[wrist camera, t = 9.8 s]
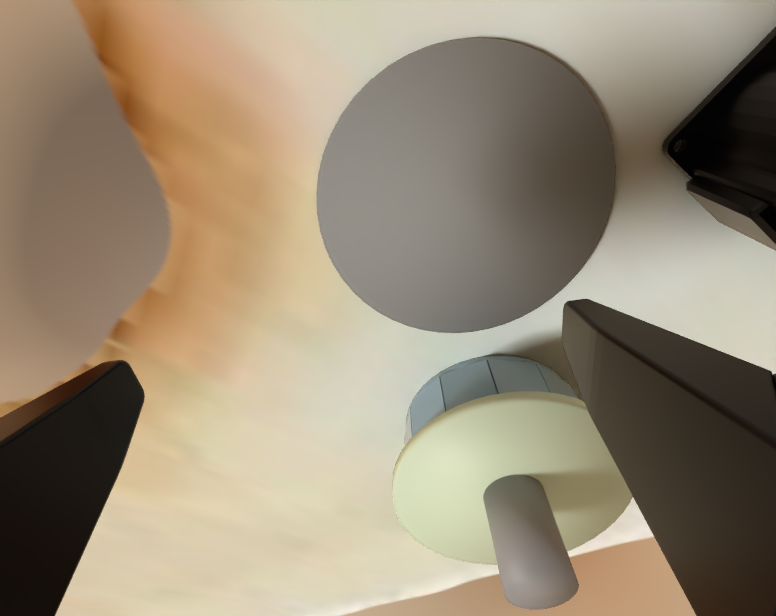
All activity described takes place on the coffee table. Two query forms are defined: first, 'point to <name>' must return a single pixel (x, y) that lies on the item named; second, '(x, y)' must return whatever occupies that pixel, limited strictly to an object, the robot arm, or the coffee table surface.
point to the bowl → (480, 386)
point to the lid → (511, 489)
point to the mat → (465, 185)
